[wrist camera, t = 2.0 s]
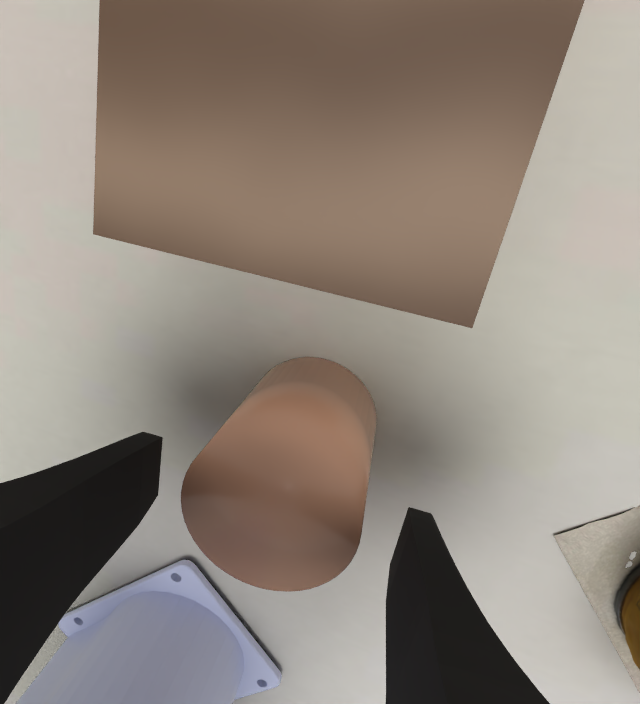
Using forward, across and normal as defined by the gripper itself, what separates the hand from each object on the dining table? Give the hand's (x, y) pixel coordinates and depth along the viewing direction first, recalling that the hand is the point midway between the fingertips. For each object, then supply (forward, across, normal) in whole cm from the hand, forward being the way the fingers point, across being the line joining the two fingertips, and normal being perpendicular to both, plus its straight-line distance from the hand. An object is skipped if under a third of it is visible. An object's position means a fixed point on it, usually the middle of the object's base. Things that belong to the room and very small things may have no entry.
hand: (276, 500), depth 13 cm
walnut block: (+6, +2, -11) cm, 13 cm away
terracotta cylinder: (+5, 0, 0) cm, 5 cm away
